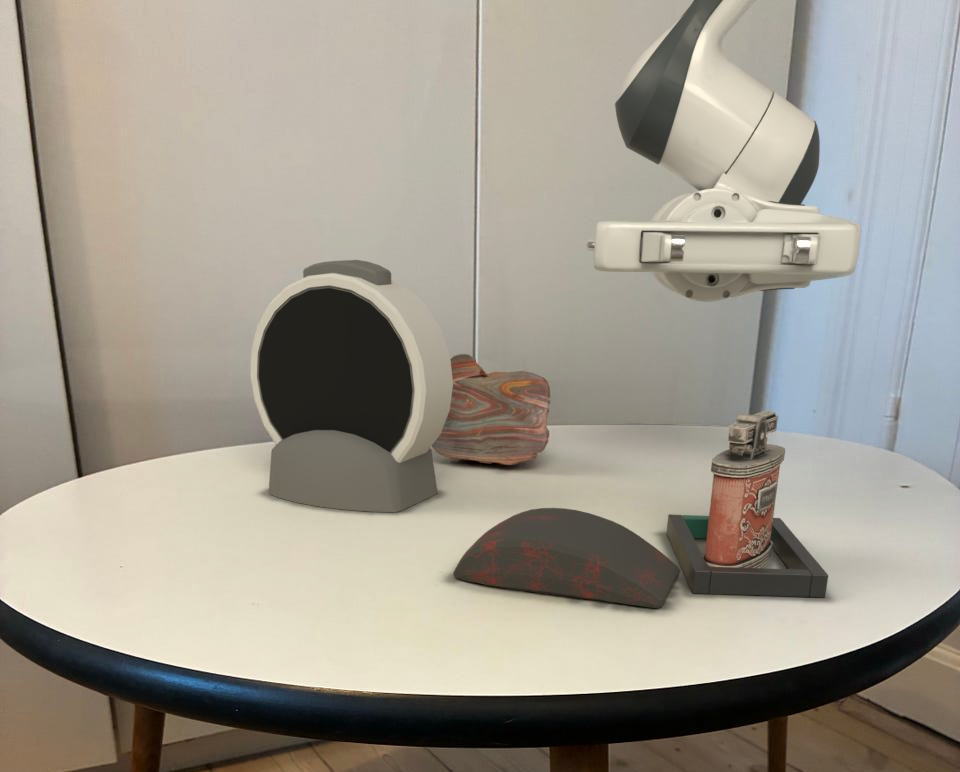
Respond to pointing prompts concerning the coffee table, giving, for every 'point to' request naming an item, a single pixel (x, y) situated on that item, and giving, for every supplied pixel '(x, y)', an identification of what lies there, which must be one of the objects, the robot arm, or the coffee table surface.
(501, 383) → the stone
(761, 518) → the lighter
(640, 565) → the computer mouse
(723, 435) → the coffee table surface
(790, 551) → the frame
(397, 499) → the alarm clock
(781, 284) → the robot arm
